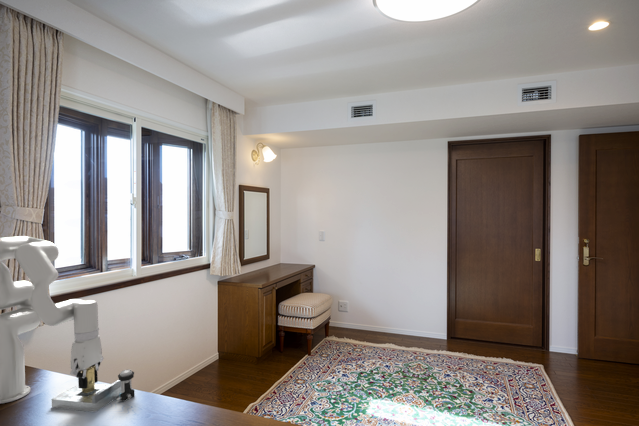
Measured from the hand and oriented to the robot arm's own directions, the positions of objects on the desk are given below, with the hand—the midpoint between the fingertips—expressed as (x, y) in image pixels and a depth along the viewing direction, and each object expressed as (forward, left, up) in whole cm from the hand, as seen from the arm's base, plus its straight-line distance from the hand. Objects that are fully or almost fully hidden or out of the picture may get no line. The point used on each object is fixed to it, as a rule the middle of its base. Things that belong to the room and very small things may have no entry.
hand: (88, 384), depth 138 cm
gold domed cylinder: (0, 0, -2) cm, 2 cm away
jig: (0, 0, -6) cm, 6 cm away
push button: (+13, +3, -6) cm, 15 cm away
